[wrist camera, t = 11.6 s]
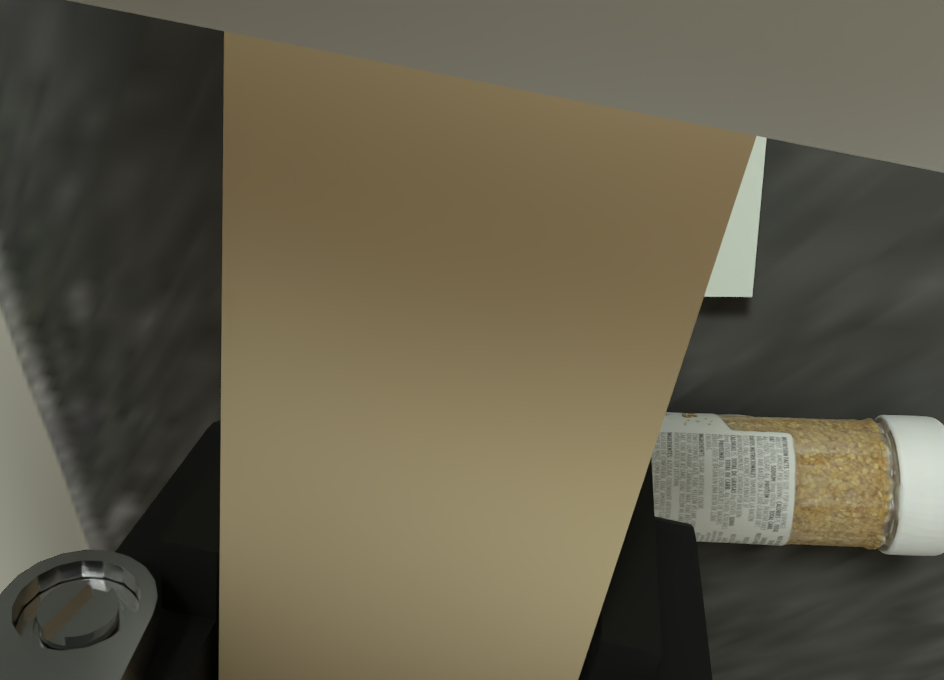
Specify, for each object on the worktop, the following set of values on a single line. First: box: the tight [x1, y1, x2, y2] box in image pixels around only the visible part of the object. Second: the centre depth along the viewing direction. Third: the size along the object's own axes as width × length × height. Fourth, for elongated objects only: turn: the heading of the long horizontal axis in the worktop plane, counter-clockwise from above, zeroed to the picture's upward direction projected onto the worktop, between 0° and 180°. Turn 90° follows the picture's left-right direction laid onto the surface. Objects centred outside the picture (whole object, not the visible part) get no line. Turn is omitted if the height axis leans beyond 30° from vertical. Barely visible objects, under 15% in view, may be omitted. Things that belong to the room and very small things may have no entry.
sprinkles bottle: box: [651, 412, 944, 556], centre depth 30 cm, size 5×5×13 cm
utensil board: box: [704, 136, 766, 297], centre depth 26 cm, size 16×9×1 cm, turn 4°
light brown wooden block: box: [67, 0, 944, 680], centre depth 11 cm, size 15×7×6 cm, turn 171°
